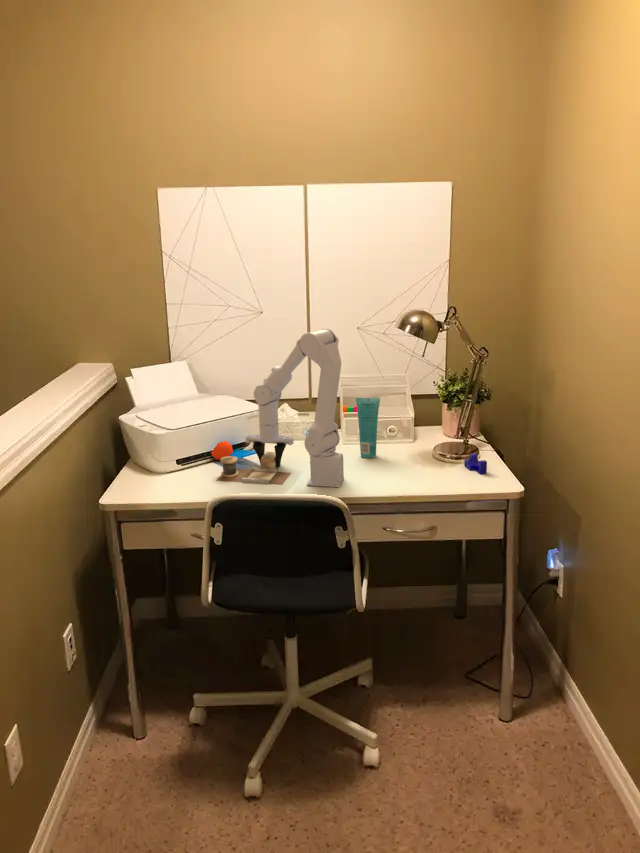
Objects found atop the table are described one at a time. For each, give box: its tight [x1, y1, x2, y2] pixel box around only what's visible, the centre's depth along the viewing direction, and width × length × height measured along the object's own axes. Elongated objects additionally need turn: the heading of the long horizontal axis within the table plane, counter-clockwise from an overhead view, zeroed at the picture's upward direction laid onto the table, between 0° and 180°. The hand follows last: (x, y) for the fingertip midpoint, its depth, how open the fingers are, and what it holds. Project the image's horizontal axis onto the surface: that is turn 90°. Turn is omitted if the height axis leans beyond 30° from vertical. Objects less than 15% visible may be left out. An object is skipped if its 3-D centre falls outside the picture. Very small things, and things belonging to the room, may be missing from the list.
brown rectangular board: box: [215, 466, 292, 486], centre depth 215 cm, size 20×10×2 cm, turn 77°
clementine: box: [210, 440, 234, 460], centre depth 232 cm, size 8×7×7 cm
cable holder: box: [463, 453, 488, 475], centre depth 220 cm, size 8×4×4 cm, turn 13°
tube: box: [355, 397, 381, 459], centre depth 232 cm, size 7×5×19 cm, turn 91°
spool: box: [219, 455, 239, 478], centre depth 216 cm, size 5×5×5 cm
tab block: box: [260, 451, 277, 469], centre depth 224 cm, size 4×6×5 cm
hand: (270, 465), depth 224 cm, fingers open, 4 cm apart
